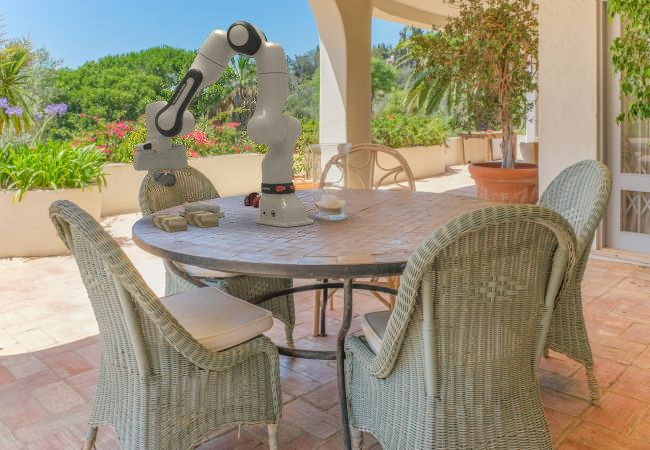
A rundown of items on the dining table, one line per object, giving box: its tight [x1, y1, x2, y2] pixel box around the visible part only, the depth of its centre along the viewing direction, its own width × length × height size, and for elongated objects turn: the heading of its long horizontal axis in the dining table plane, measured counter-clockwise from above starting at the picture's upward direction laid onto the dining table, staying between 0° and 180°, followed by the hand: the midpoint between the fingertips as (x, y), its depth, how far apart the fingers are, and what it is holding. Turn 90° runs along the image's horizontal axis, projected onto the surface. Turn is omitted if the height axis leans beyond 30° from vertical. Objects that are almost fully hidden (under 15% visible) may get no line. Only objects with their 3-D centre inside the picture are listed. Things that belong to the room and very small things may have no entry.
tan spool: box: [151, 210, 220, 233], centre depth 203 cm, size 16×18×4 cm
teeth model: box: [243, 191, 262, 209], centre depth 251 cm, size 8×6×12 cm
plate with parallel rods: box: [178, 200, 225, 219], centre depth 224 cm, size 16×12×5 cm
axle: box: [152, 171, 177, 188], centre depth 215 cm, size 12×5×5 cm, turn 37°
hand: (162, 181), depth 216 cm, fingers closed on axle, 5 cm apart
